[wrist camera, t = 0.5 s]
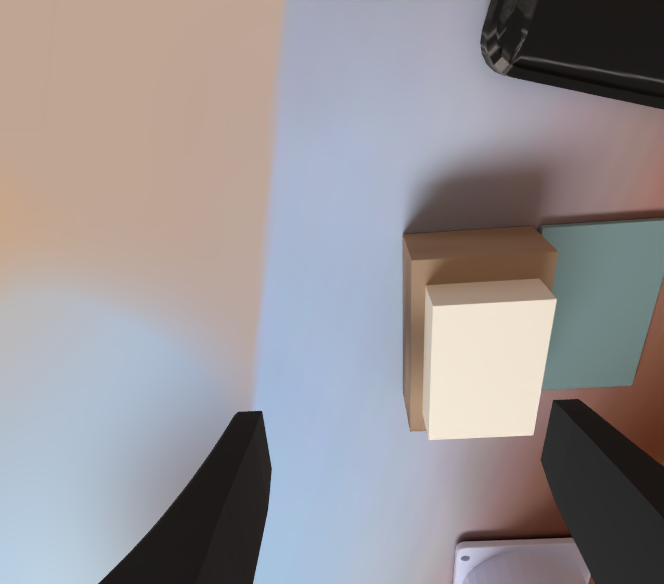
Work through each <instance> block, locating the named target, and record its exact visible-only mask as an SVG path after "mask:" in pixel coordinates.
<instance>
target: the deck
mask: <svg viewBox="0 0 664 584" xmlns="http://www.w3.org/2000/svg"><path fill="white" fill-rule="evenodd" d="M557 257H558V251H557V250H556V249H555V248H554V247H553V246H552V245H551V244H550V243H549V242H548V241H547V240H546V239H545V238H544V237H543V236H542V235H541V234H540V233H539V232H538V231H537V230H536V229H535V228H534V227H533V226H523V227H507V228H491V229H476V230H460V231H444V232H428V233H413V234H403V395H404V401H405V406H406V411H407V417H408V422H409V428H410V431H426V427H425V422H424V418H423V413H422V410H423V368H424V326H425V285H437V284H454V283H471V282H488V281H505V280H522V279H539V278H540V280H541V281H542V282H543V283H544V284H545V286H546V287H547V288H548V289H549V290H550V291H551V293H552V287H553V281H554V275H555V269H556V263H557Z"/></svg>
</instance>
